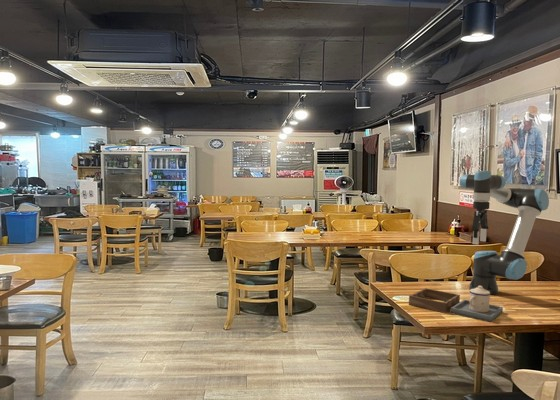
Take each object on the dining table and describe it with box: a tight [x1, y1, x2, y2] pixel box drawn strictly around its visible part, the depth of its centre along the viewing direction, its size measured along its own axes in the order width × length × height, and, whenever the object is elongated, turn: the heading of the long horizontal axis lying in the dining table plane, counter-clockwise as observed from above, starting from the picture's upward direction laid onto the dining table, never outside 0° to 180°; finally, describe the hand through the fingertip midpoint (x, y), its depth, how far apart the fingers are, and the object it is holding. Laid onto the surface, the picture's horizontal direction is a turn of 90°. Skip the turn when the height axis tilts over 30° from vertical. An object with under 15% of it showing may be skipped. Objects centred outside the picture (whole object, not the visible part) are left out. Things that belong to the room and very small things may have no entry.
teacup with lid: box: [468, 286, 491, 313], centre depth 205 cm, size 12×9×12 cm
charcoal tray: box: [450, 299, 504, 323], centre depth 205 cm, size 20×18×2 cm
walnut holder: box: [408, 287, 461, 314], centre depth 217 cm, size 21×18×4 cm
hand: (479, 242), depth 218 cm, fingers open, 13 cm apart
